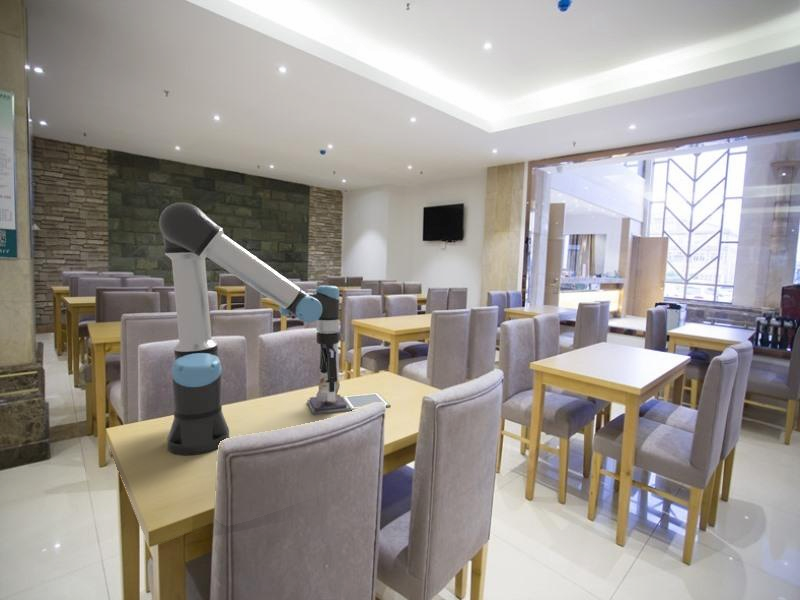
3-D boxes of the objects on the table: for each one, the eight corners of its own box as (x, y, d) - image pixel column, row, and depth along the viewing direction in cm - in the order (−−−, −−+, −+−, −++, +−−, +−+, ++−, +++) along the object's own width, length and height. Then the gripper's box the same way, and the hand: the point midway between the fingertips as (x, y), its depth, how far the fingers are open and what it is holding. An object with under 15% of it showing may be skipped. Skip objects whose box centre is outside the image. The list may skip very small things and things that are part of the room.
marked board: (351, 411, 137) (351, 409, 136) (341, 398, 150) (341, 396, 149) (390, 406, 142) (390, 404, 142) (377, 394, 155) (377, 392, 155)
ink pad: (313, 414, 133) (313, 408, 133) (307, 402, 144) (307, 397, 144) (349, 410, 137) (349, 404, 137) (340, 399, 148) (340, 393, 148)
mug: (310, 404, 135) (310, 374, 139) (324, 407, 143) (324, 379, 147) (330, 401, 133) (330, 370, 137) (344, 404, 141) (343, 376, 145)
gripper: (346, 336, 129) (346, 405, 131) (331, 325, 150) (331, 385, 152) (323, 338, 126) (323, 408, 129) (311, 326, 147) (311, 387, 149)
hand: (327, 395), depth 140 cm, fingers closed on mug, 10 cm apart
